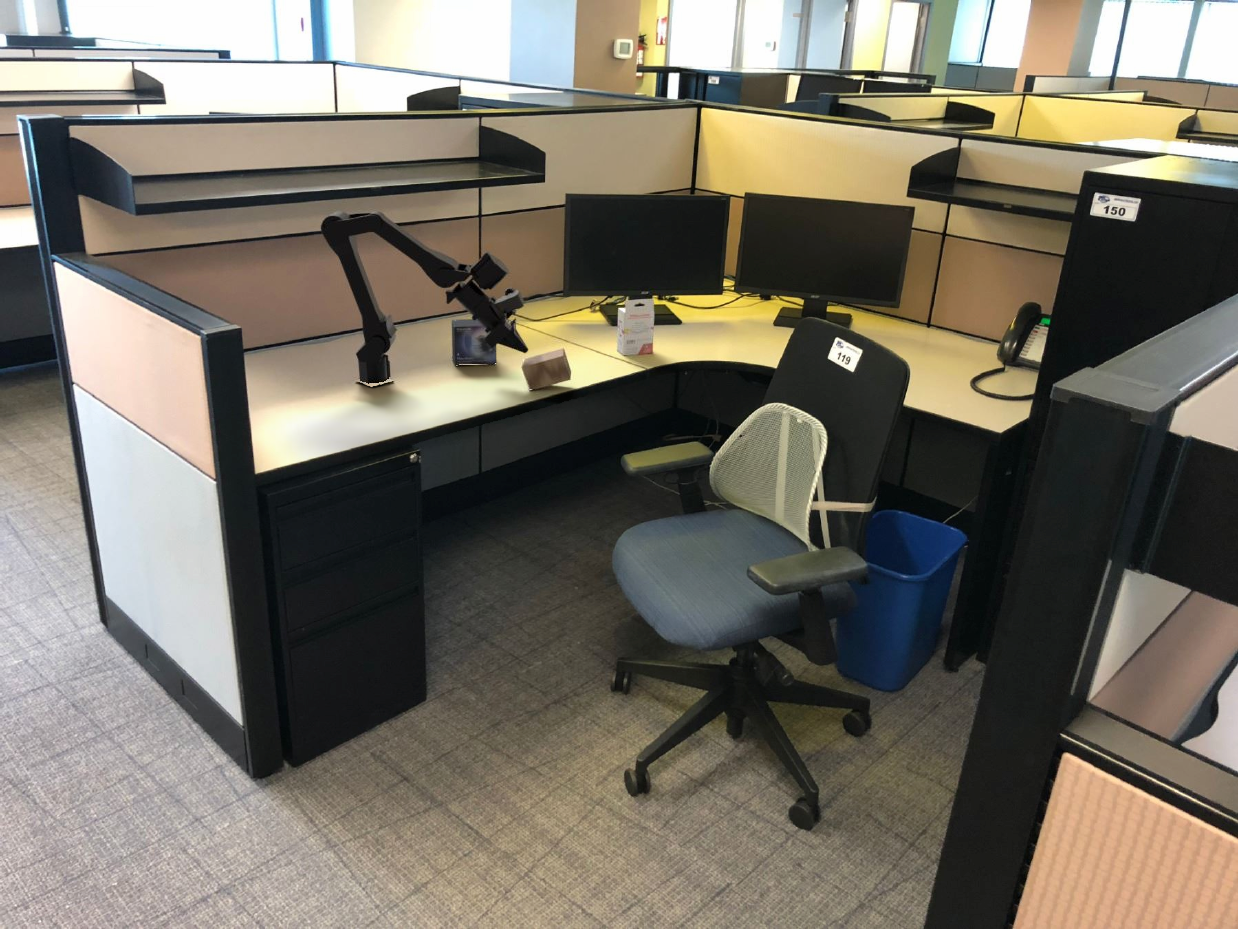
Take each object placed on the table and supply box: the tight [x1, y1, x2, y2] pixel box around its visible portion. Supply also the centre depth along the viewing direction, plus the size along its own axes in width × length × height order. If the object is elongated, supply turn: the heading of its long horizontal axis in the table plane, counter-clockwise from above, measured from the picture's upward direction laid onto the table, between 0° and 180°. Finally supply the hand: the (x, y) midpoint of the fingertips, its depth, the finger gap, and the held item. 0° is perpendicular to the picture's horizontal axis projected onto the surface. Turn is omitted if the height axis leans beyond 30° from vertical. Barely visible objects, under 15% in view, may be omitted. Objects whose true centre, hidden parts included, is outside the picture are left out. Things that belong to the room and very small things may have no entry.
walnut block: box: [521, 347, 572, 390], centre depth 225 cm, size 6×6×10 cm
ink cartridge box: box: [616, 298, 655, 356], centre depth 252 cm, size 9×5×15 cm, turn 112°
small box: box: [451, 318, 497, 366], centre depth 240 cm, size 11×6×10 cm, turn 105°
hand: (527, 351), depth 223 cm, fingers closed
